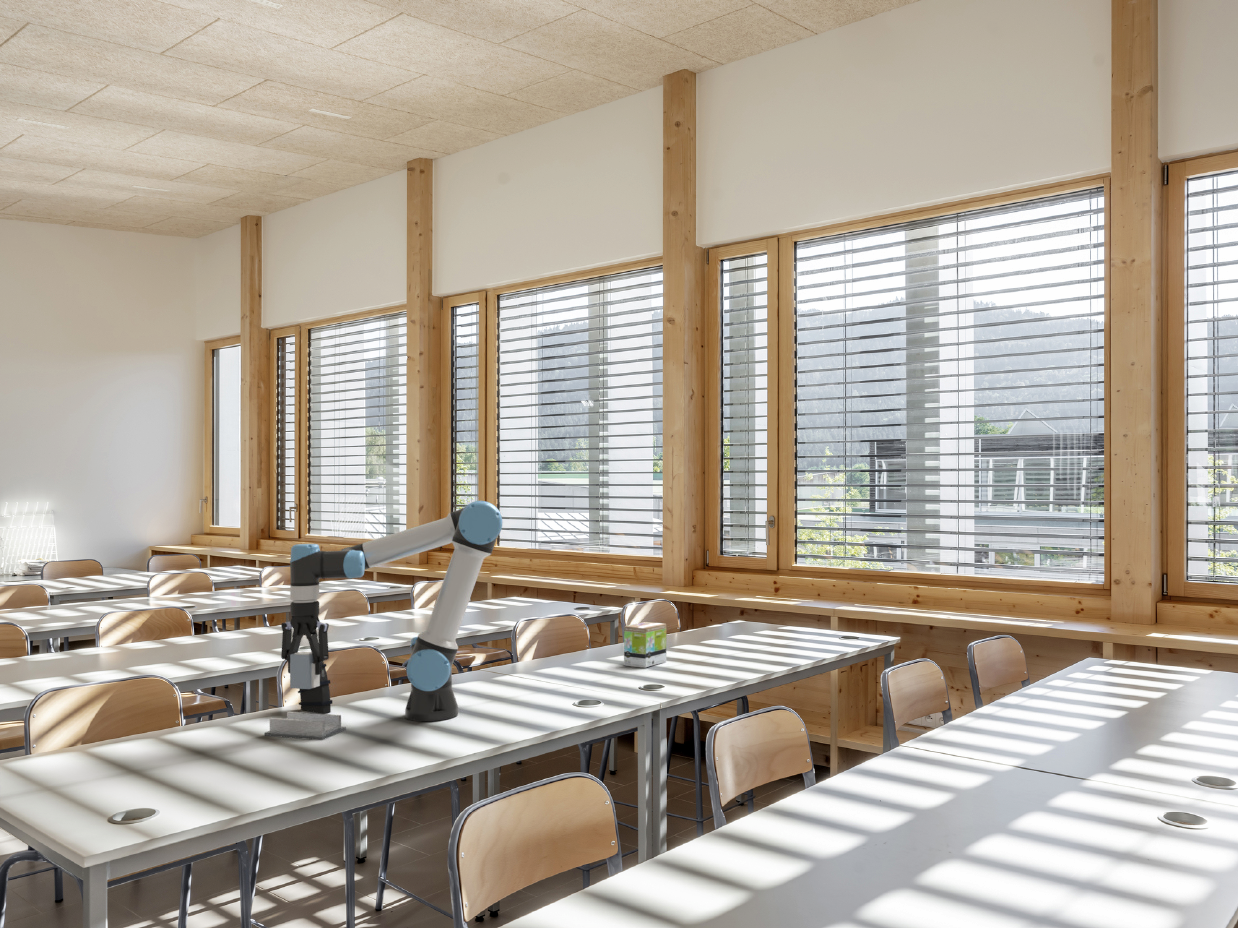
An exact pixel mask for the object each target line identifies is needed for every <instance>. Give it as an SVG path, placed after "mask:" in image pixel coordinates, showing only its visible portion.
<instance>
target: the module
mask: <svg viewBox="0 0 1238 928" xmlns="http://www.w3.org/2000/svg"><path fill="white" fill-rule="evenodd" d="M313 662H314V660H313V656H312V652H311V651H298V652H297V653H294V654H291V655H290V673H289V687H290V689H298V690H299V689H312V688H311V663H313Z"/></svg>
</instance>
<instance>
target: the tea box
mask: <svg viewBox="0 0 1238 928" xmlns="http://www.w3.org/2000/svg"><path fill="white" fill-rule="evenodd" d="M623 630H624V631H623V632H624V634H623V666H626V667H633V668H643V669H644V668H645V669H647V667H651V666H655V665H656V666H657V665H658V664H663V663H667V623H663V622H662V623H661V622H649V621H648V622H647V621H644V622H639V623H638V622H637V623H635V624H629V625H624V628H623Z"/></svg>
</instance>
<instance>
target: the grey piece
mask: <svg viewBox="0 0 1238 928" xmlns="http://www.w3.org/2000/svg"><path fill="white" fill-rule="evenodd" d="M346 730H347V727H346V726H342V715H341V714H332V713H326V714H319V713H314V712H300V711H299V712H298V711H287V712H286V718H280V717H278V718H277V717H270V718H269V731H265V732H264V735H266V736H265V737H275V736H282V737H281V738H289V737H292V738H291V739H302V738H309V739H308V740H315V741H316V740H317V741H323V740H325V738H326V739H328V738H330V737H333V736H335V735H338V734H340V733H341V732H344V731H346Z"/></svg>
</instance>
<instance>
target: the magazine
mask: <svg viewBox="0 0 1238 928" xmlns="http://www.w3.org/2000/svg"><path fill="white" fill-rule="evenodd" d="M326 667H327V663H324V661H323V662H322V674H320V686H318V687H315V688H312V689H298V691H297V694H299V695H300V696H299V698H300V702H298V705H299V706H300V710H301V711H306V712H308V713H317V714H331V712H332V709H331V706H332V704H333V700H332V699H331V691H330V685H329V684H331V680H330V679H328V678H329V677H328V673H327V670H326Z"/></svg>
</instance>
